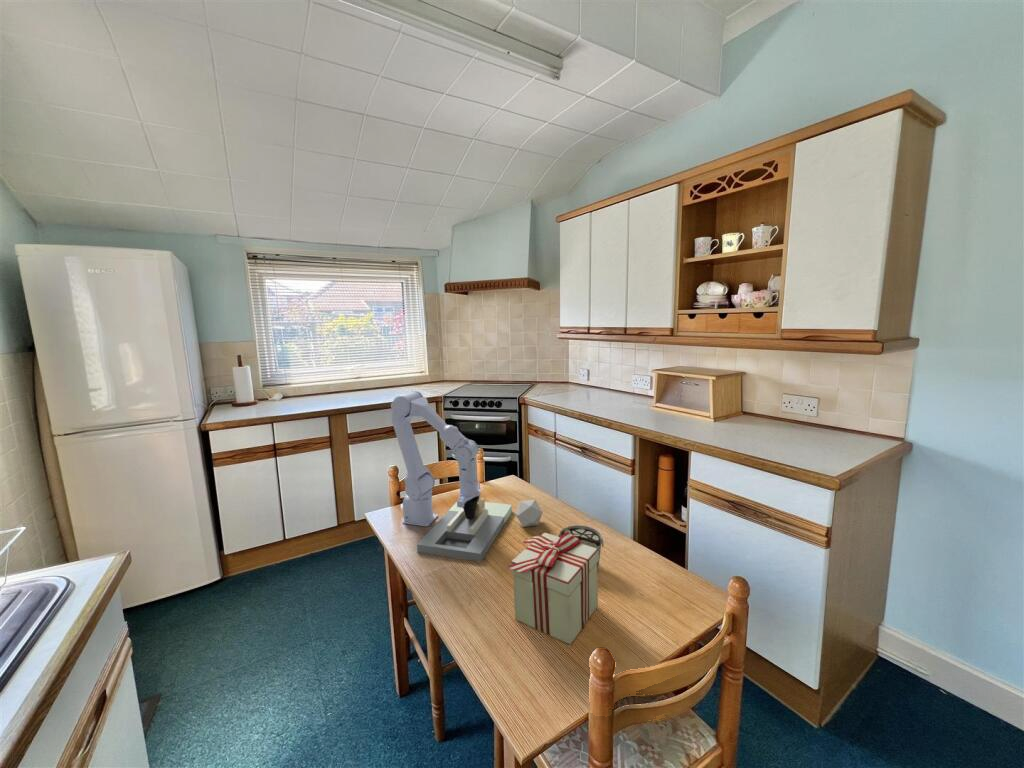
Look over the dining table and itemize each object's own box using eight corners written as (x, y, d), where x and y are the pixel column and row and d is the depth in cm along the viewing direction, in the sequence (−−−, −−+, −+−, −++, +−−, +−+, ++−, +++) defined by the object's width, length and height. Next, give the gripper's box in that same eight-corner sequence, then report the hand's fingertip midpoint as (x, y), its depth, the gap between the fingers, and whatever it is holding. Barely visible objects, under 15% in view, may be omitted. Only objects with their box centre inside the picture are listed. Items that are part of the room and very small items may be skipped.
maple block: (465, 517, 139) (464, 502, 139) (471, 510, 144) (470, 496, 143) (479, 518, 138) (479, 504, 137) (485, 511, 143) (484, 497, 142)
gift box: (532, 580, 110) (530, 519, 107) (600, 603, 100) (601, 537, 97) (497, 622, 95) (494, 553, 92) (573, 653, 86) (573, 577, 83)
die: (537, 534, 133) (549, 506, 136) (513, 522, 133) (526, 494, 135) (531, 531, 141) (543, 504, 144) (508, 519, 141) (521, 493, 143)
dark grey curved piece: (607, 562, 116) (608, 529, 115) (602, 575, 111) (603, 540, 109) (565, 553, 121) (564, 521, 120) (558, 564, 116) (558, 531, 114)
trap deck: (417, 552, 124) (416, 538, 123) (459, 505, 153) (459, 494, 153) (480, 561, 118) (480, 547, 118) (512, 511, 148) (511, 499, 147)
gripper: (471, 489, 127) (473, 531, 129) (487, 471, 140) (489, 509, 143) (449, 487, 129) (452, 528, 131) (468, 470, 142) (470, 507, 145)
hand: (470, 518), depth 137 cm, fingers closed
